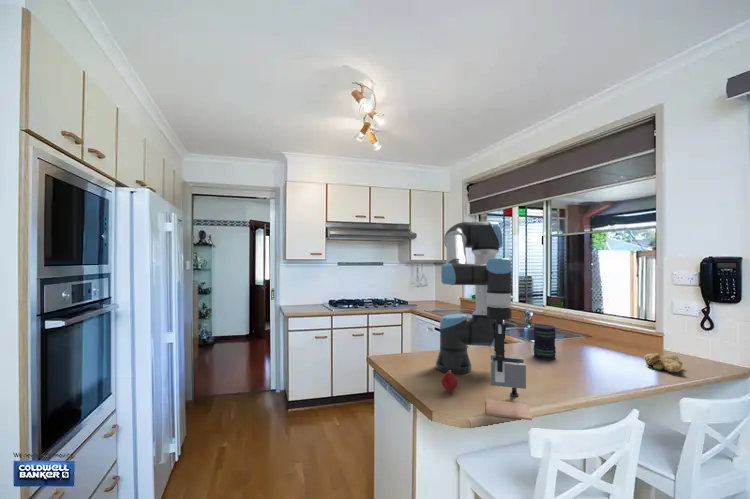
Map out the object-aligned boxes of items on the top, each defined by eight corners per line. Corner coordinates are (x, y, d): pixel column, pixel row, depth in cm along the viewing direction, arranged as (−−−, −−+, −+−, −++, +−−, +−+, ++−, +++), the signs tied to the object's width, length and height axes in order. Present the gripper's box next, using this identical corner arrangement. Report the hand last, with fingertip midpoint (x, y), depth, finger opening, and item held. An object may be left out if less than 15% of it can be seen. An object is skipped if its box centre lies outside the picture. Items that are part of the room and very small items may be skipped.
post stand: (505, 395, 128) (505, 365, 128) (505, 393, 130) (504, 363, 130) (523, 397, 126) (523, 367, 126) (523, 394, 128) (523, 364, 129)
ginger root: (647, 358, 172) (651, 342, 170) (689, 375, 159) (694, 358, 158) (632, 364, 164) (637, 348, 162) (675, 383, 151) (680, 365, 149)
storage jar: (554, 361, 171) (554, 329, 172) (531, 357, 177) (531, 326, 177) (557, 356, 180) (556, 325, 180) (535, 353, 185) (535, 323, 186)
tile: (486, 414, 112) (486, 412, 112) (486, 401, 123) (486, 399, 123) (531, 420, 108) (531, 418, 108) (527, 406, 119) (527, 404, 119)
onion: (439, 389, 133) (439, 367, 133) (455, 389, 134) (455, 367, 134) (443, 395, 127) (443, 372, 128) (460, 395, 128) (460, 372, 128)
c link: (491, 385, 113) (491, 362, 113) (490, 376, 121) (490, 355, 122) (525, 388, 110) (525, 365, 110) (523, 379, 118) (522, 357, 119)
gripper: (514, 311, 105) (514, 389, 105) (509, 302, 126) (509, 368, 126) (486, 309, 108) (487, 387, 107) (486, 302, 128) (486, 366, 128)
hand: (499, 376), depth 116 cm, fingers closed on c link, 9 cm apart
